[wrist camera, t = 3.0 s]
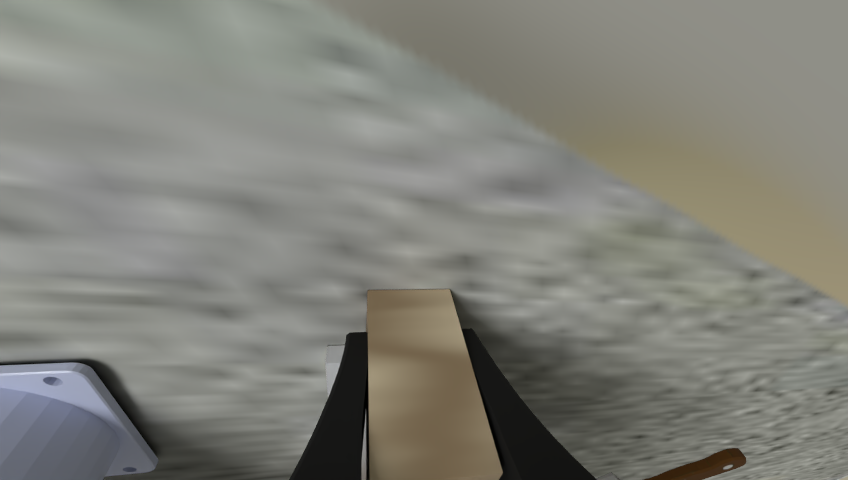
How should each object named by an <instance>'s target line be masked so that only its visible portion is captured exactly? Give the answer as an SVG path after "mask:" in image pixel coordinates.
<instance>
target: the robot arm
mask: <svg viewBox="0 0 848 480" xmlns="http://www.w3.org/2000/svg"><path fill="white" fill-rule="evenodd" d="M461 330H462V333H463V337H464V340H465V344H466V347H467V350H468V354H469V357H470V361H471V364H472V368H473V371H474V375H475V378H476V381H477V385H478V388H479V392H480V395H481V399H482V402H483V406H484V409H485V413H486V416H487V419H488V423H489V426H490V430H491V433H492V437H493V440H494V444H495V447H496V450H497V454H498V457H499V461H500V464H501V468H502V471H503V474H502V475H501V477H500V479H499V480H597V479H596V478H595V477H593V476H592V475H591V474H590V473H589V472H588V471H587V470H586V469H585V468H584V467H583V466H582V465H581V464H580V463H579V462H578V461H577V460H576V459H575V458H574V457H573V456H572V455H571V454H570V453H569V452H568V451H567V450H566V449H565V448H564V447H563V446H562V445H561V444H560V443H559V442H558V441H557V440H556V439H555V438H554V437H553V436H552V434H551V433H550V432H549V431H548V430H547V429H546V428H545V427H544V426H543V425H542V423H541V422H540V421H539V420H538V419H537V418H536V416H535V415H534V414H533V413H532V412H531V410H530V409H529V408H528V407H527V406H526V404H525V403H524V402H523V401H522V399H521V398H520V397H519V396H518V394H517V393H516V392H515V390H514V389H513V388H512V386H511V385H510V384H509V382H508V381H507V379H506V378H505V377H504V375H503V374H502V373H501V371H500V370H499V368H498V367H497V366H496V364H495V363H494V361H493V360H492V358H491V357H490V355H489V354H488V352H487V351H486V349H485V348H484V346H483V345H482V343H481V342H480V340H479V338H478V337H477V335H476V334H475V332H474V331H473V330H472V329H461ZM367 375H368V332H355V333H349V334H347V335H346V343H345V348H344V352H343V356H342V360H341V363H340V366H339V369H338V373H337V375H336V378H335V381H334V384H333V386H332V389H331V392H330V395H329V397H328V400H327V402H326V404H325V407H324V409H323V411H322V414H321V416H320V419H319V421H318V423H317V425H316V428H315V430H314V432H313V434H312V436H311V438H310V440H309V442H308V445H307V447H306V449H305V451H304V453H303V455H302V457H301V459H300V460H299V462H298V464H297V466H296V468H295V470H294V472H293V474H292V475H291V477H290V479H289V480H362V450H363V439H364V427H365V415H366V399H367ZM157 463H158V458H157V457H156V455H155V454H154V453H153V451H152V450H151V448H150V447H149V446H148V444H147V443H146V442H145V440H144V439H143V437H142V436H141V435H140V433H139V432H138V431H137V429H136V428H135V426H134V425H133V424H132V422H131V421H130V420H129V418H128V417H127V415H126V414H125V413H124V411H123V410H122V409H121V407H120V406H119V404H118V403H117V402H116V400H115V399H114V398H113V396H112V395H111V393H110V392H109V391H108V389H107V388H106V387H105V385H104V384H103V382H102V381H101V380H100V378H99V377H98V376H97V374H96V373H95V372H94V370H93V369H92V368H91V367H90V366H87V365H85V364H82V363H74V362H70V363H47V364H23V365H0V480H103V479H104V477H106V476H116V475H126V474H136V473H146V472H150V471H153V470H154V469H155V468H156V465H157Z"/></svg>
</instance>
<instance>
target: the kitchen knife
mask: <svg viewBox="0 0 848 480" xmlns="http://www.w3.org/2000/svg"><path fill="white" fill-rule="evenodd" d="M745 463H746V457H745V456H744V455H743V454H742V452H741V451H740V450H739V449H738V448H732V449H726V450H723V451H720V452H717V453H715V454H713V455H711V456H709V457H707V458H705V459H702V460H700V461H697V462H694V463H690V464H686V465H683V466H681V467H678V468H675V469H672V470H669V471H667V472H664V473H662V474H660V475H657V476H654V477H652V478H649V479H644V480H702V479H705V478H709V477H712V476H715V475H718V474H721V473H724V472H727V471H730V470H733V469H736V468H738V467H741V466H743V465H744V464H745ZM596 479H597V480H619V479H618V478H617V477H616V476H615V475H614V474H613V473H612V472H611V473H608V474H606V475H603V476H601V477H598V478H596Z"/></svg>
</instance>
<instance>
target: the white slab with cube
mask: <svg viewBox="0 0 848 480" xmlns="http://www.w3.org/2000/svg"><path fill="white" fill-rule="evenodd" d="M366 332H368V375H367V399H366V415H365V427H364V439H363V450H362V480H499V479H500V477H501V475H502V474H503V471H502V468H501V464H500V461H499V457H498V454H497V450H496V447H495V444H494V440H493V437H492V433H491V430H490V426H489V423H488V419H487V416H486V413H485V409H484V406H483V402H482V399H481V395H480V392H479V388H478V385H477V381H476V378H475V375H474V371H473V368H472V364H471V361H470V357H469V354H468V350H467V347H466V344H465V340H464V337H463V333H462V330H461V326H460V323H459V319H458V316H457V313H456V309H455V306H454V302H453V299H452V295H451V292H450V289H435V290H368V295H367V324H366ZM344 348H345V345H339V346H327V354H326V363H325V364H326V377H327V391H328V397H329V395H330V392H331V389H332V386H333V384H334V381H335V378H336V375H337V373H338V369H339V366H340V363H341V360H342V356H343V352H344Z"/></svg>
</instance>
